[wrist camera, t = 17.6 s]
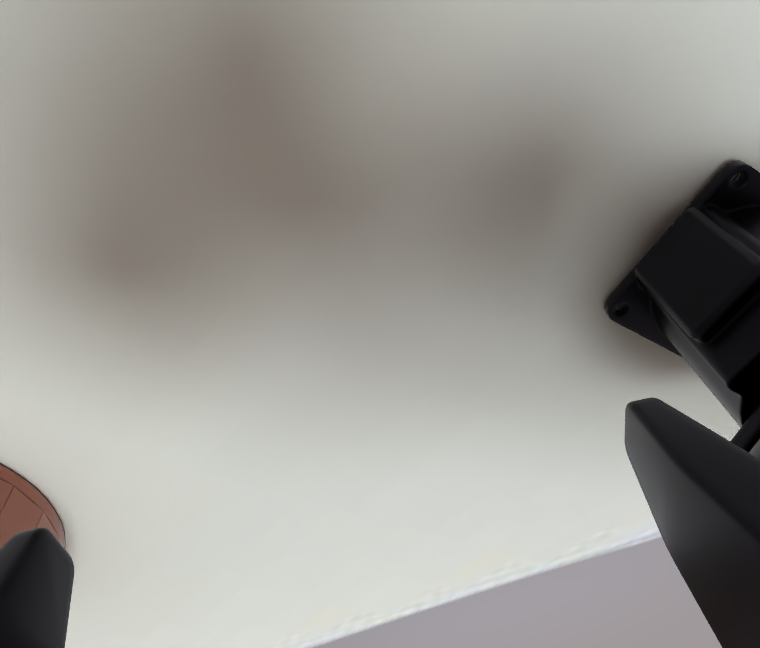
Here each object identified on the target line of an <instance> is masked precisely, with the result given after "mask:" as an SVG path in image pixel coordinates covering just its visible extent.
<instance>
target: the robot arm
mask: <svg viewBox="0 0 760 648" xmlns="http://www.w3.org/2000/svg"><path fill="white" fill-rule="evenodd" d="M737 173H740V176H739V178H738V179H737V180H736V181H735V182H732V183H731V180H732V178H733V177H734V176H735V175H736V174H737ZM622 304H624V306H623V307H622V308H621V309H619V310H616V308H617V307H618V306H619V305H622ZM604 309H605V312H606V313H607V315H608V316H609V318H610V319H612V320H613V321H615V322H616V323H618V324H620V325H622V326H624V327H626V328H628V329H630V330H632V331H634V332H636V333H638V334H639V335H641V336H643V337H645V338H647V339H649V340H651V341H653V342H655V343H657V344H659V345H660V346H662V347H664V348H666V349H668V350H670V351H672V352H674V353H676V354H678V355H680V356H681V357H683V358H684V359H685V360H686V361H687V363H688V364H689V365H690V366H691V367H692V369H693V370H694V371H695V372H696V373H697V375H698V376H699V377H700V378H701V380H702V381H703V382H704V383H705V384H706V386H707V387H708V388H709V389H710V391H711V392H712V393H713V394H714V395H715V397H716V398H717V399H718V400H719V402H720V403H721V404H722V405H723V406H724V408H725V409H726V410H727V411H728V412H729V414H730V415H731V416H732V417H733V419H734V420H735V421H736V422H737V423H738V425H739V426H740V427H741V428H740V429H739V431H738V432H737V433H736V435H735V436H734V437H733V439H732V440H731V441H728V440H727V439H725V438H723V437H722V436H720V435H718V434H717V433H715V432H713V431H711V430H710V429H708V428H706V427H705V426H703V425H701V424H700V423H698V422H696V421H695V420H693V419H691V418H690V417H688V416H686V415H685V414H683V413H681V412H680V411H678V410H676V409H675V408H673V407H671V406H670V405H668V404H666V403H664V402H663V401H661V400H659V399H657V398H647V399H642V400H637V401H633V402H630V403H628V404H627V406H626V411H625V447H626V451H627V454H628V457H629V460H630V462H631V464H632V467H633V469H634V471H635V474H636V476H637V479H638V481H639V483H640V486H641V488H642V490H643V493H644V495H645V498H646V500H647V502H648V505H649V507H650V509H651V512H652V514H653V517H654V519H655V521H656V524H657V526H658V528H659V531H660V533H661V535H662V538H663V540H664V542H665V544H666V547H667V549H668V550H669V552H670V554H671V556H672V558H673V560H674V562H675V564H676V566H677V567H678V569H679V571H680V573H681V575H682V576H683V578H684V580H685V582H686V583H687V585H688V587H689V589H690V591H691V592H692V594H693V596H694V598H695V600H696V601H697V603H698V605H699V607H700V608H701V610H702V612H703V614H704V616H705V617H706V619H707V621H708V623H709V624H710V626H711V628H712V630H713V632H714V633H715V635H716V637H717V639H718V641H719V642H720V644H721V646H722V648H760V173H759V172H758V171H757V170H755V169H754V168H752V167H751V166H749V165H748V164H746V163H744V162H742V161H732V162H730V163H728V164H726V165H725V166H724V167H723V168H722V169H721V170H720V171H719V172H718V173H717V174H716V176H715V177H714V178H713V179H712V180H711V181H710V182H709V184H708V185H707V186H706V187H705V188H704V189H703V190H702V191H701V193H700V194H699V195H698V196H697V197H696V198H695V199H694V201H693V202H692V203H691V204H690V205H689V206H688V207H687V209H686V210H685V211H684V212H683V213H682V214H681V215H680V217H679V218H678V219H677V220H676V221H675V222H674V223H673V225H672V226H671V227H670V228H669V229H668V230H667V231H666V233H665V234H664V235H663V236H662V237H661V238H660V239H659V241H658V242H657V243H656V244H655V245H654V246H653V247H652V249H651V250H650V251H649V252H648V253H647V254H646V255H645V257H644V258H643V259H642V260H641V261H640V262H639V263H638V265H637V266H636V267H635V268H634V269H633V270H632V271H631V273H630V274H629V275H628V276H627V277H626V278H625V279H624V281H623V282H622V283H621V284H620V285H619V286H618V287H617V289H616V290H615V291H614V292H613V293H612V294H611V295H610V297H609V298H608V299H607V300H606V302H605V305H604ZM73 578H74V565H73V561H72V559H71V557H70V555H69V554H68V553H67V551H66V550H65V549H64V548H63V546H62V545H61V544H60V543H59V541H58V540H57V539H56V538H55V536H54V535H53V534H52V533H51V531H50V530H48V529H46V528H36V529H31V530H27V531H22V532H19V533H17V534H16V535H14V536H13V537H12V538H11V539H10V540H9V541H8V542H7V543H6V544H5V545H4V546H3V547H2V548H1V549H0V648H65V640H66V633H67V625H68V617H69V609H70V602H71V594H72V586H73Z"/></svg>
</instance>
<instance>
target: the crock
mask: <svg viewBox="0 0 760 648" xmlns="http://www.w3.org/2000/svg"><path fill="white" fill-rule="evenodd" d="M36 528H46V529H48V530H50V531H51V533H52V534H53V535H54V536H55V538H56V539H57V540H58V541H59V543H60V544H61V545H62V546H63V548H65V538H64V531H63V528H62V524H61V521H60V519H59V517H58V515H57V514H56V512H55V510H54V509H53V507H52V506H51V505H50V503H49V502H48V500H47V499H46V498H45V497H44V496H43V495H42V494H41V493H40V492H39V491H38V490H37V489H36V488H35V487H33V486H32V485H31V484H30V483H28V482H27V481H26V480H25V479H23V478H22V477H20V476H19V475H17V474H16V473H14V472H13V471H11V470H10V469H8V468H6V467H4V466H2V465H0V549H1V548H2V547H3V546H4V545H5V544H6V543H7V542H8V541H9V540H10V539H11V538H12V537H13V536H14V535H16V534H17V533H19V532H22V531H27V530H31V529H36Z"/></svg>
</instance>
